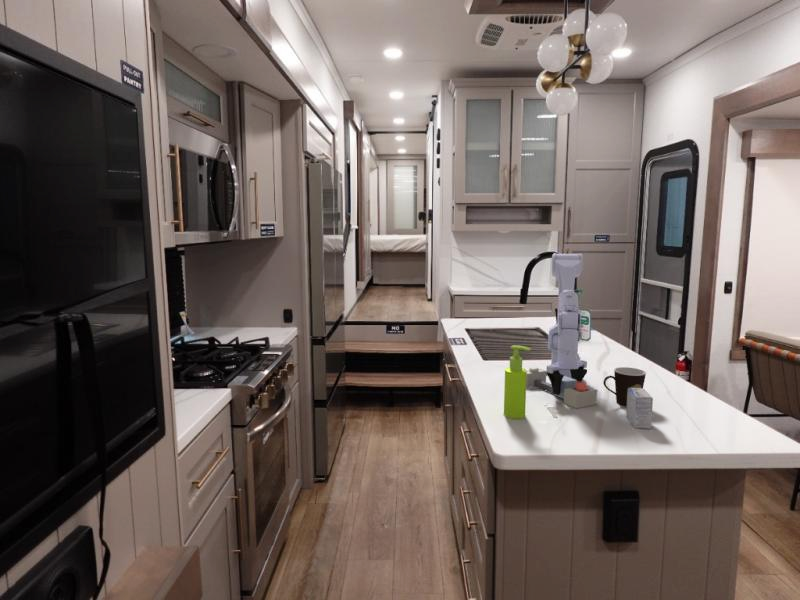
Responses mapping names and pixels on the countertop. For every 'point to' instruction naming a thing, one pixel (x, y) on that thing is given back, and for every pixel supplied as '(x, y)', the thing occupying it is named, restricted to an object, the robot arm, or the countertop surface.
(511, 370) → the soap dispenser
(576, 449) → the countertop surface
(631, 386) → the coffee mug
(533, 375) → the cabinet
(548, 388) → the rail
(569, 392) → the cabinet
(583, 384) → the red rounded piece
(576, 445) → the countertop surface
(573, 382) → the carriage
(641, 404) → the medicine box
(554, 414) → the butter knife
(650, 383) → the countertop surface
